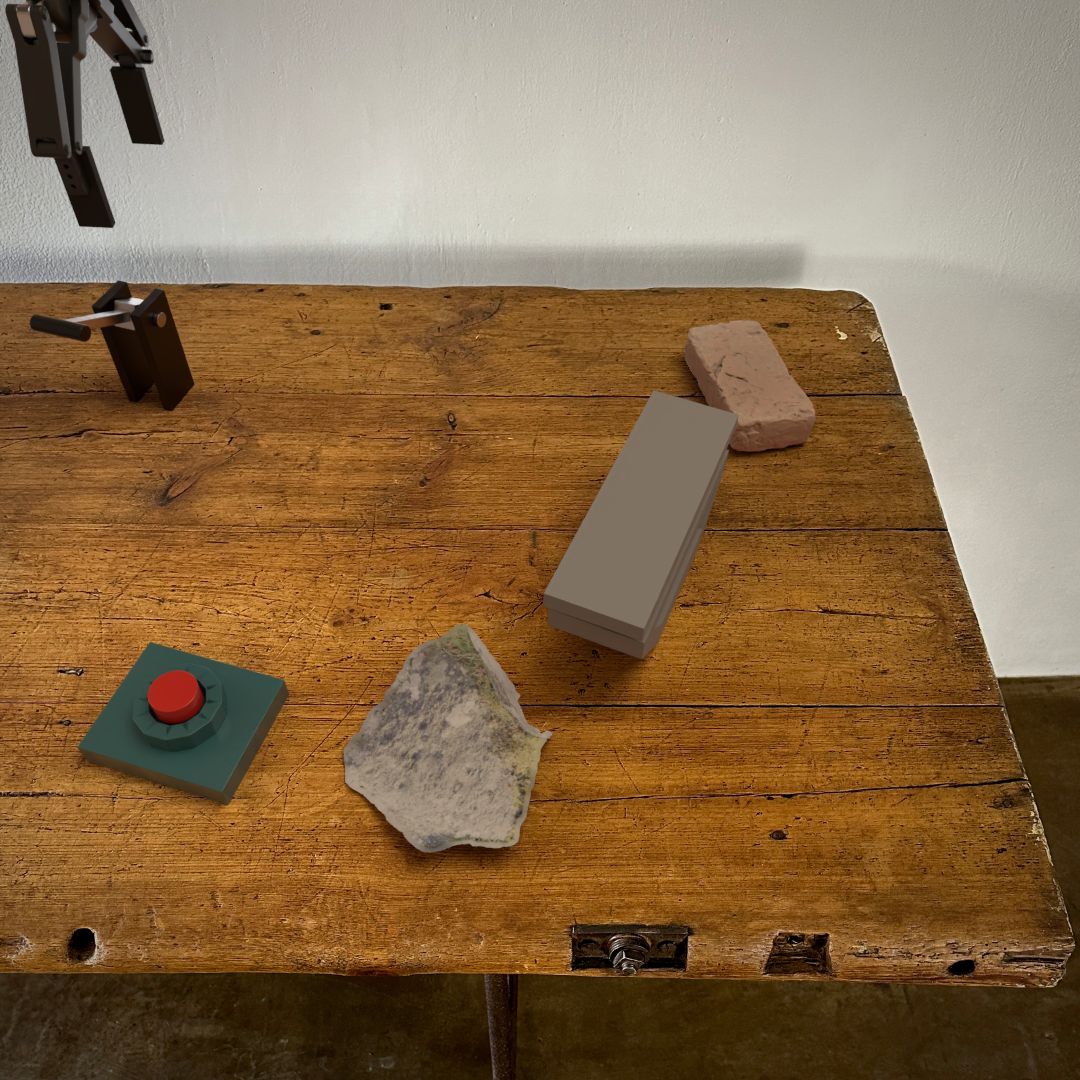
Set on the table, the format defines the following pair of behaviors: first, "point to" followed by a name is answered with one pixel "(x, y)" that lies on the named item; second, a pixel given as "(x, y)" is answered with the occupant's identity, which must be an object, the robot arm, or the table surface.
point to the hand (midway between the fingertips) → (124, 181)
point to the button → (175, 697)
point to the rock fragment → (448, 748)
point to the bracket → (147, 348)
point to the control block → (187, 725)
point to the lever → (87, 321)
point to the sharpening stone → (643, 527)
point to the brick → (749, 385)
